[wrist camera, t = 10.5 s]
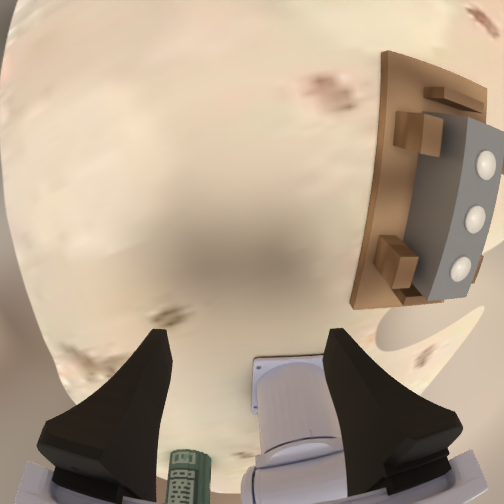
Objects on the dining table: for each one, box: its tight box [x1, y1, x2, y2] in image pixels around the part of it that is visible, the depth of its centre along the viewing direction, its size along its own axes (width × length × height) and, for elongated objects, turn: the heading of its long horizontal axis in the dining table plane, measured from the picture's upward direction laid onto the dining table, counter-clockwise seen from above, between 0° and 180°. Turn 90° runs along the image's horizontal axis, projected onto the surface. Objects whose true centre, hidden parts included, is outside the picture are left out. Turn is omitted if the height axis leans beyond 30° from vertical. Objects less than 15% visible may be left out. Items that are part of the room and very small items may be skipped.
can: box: [165, 450, 211, 504], centre depth 30 cm, size 6×6×15 cm
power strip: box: [403, 111, 504, 301], centre depth 16 cm, size 12×4×5 cm, turn 178°
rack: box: [350, 50, 504, 310], centre depth 18 cm, size 20×10×4 cm, turn 178°
